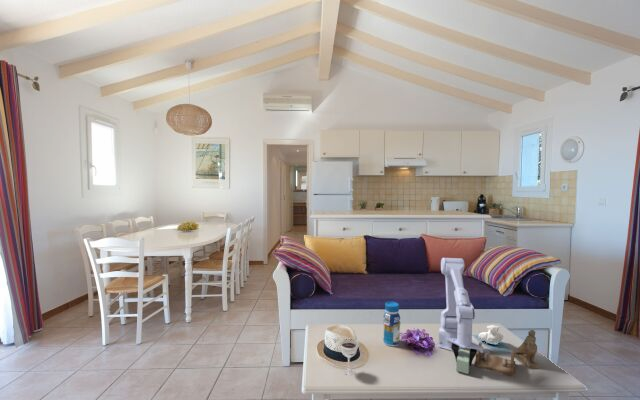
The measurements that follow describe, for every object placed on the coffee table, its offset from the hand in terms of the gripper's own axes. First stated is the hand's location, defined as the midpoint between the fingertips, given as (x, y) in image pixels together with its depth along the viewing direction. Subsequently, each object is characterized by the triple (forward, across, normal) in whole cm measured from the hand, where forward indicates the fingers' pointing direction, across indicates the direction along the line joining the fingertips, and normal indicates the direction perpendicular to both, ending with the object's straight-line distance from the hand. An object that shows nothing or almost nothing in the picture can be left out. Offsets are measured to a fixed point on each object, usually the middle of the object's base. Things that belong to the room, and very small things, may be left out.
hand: (463, 363), depth 132 cm
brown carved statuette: (+3, +22, +22) cm, 31 cm away
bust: (+3, +8, +31) cm, 32 cm away
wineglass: (+2, -40, -31) cm, 51 cm away
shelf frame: (+2, +11, +11) cm, 16 cm away
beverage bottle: (+2, -34, +3) cm, 34 cm away
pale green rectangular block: (+1, 0, 0) cm, 1 cm away
